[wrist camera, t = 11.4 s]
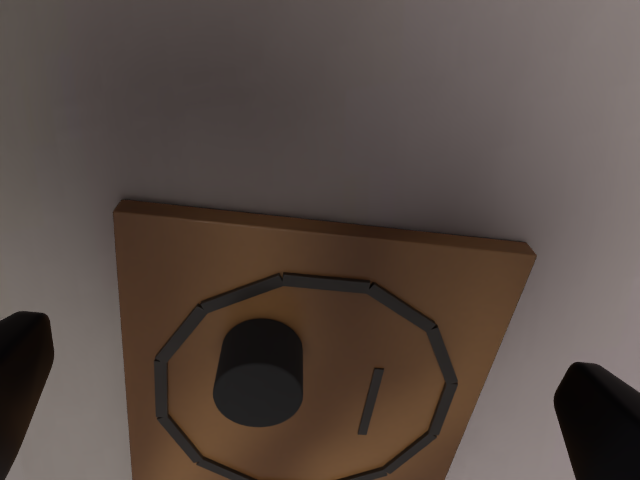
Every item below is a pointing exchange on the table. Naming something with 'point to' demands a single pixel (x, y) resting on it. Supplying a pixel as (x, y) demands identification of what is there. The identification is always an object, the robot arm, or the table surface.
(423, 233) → the board
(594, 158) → the table surface
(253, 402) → the dot
